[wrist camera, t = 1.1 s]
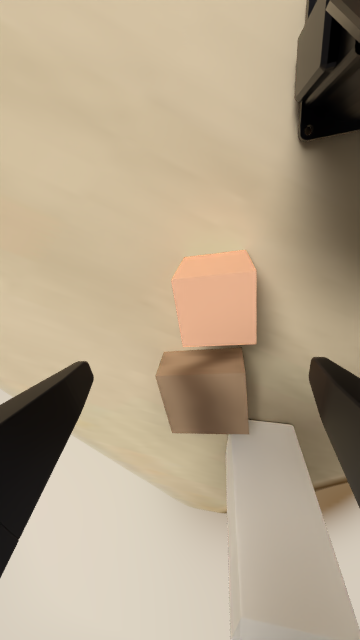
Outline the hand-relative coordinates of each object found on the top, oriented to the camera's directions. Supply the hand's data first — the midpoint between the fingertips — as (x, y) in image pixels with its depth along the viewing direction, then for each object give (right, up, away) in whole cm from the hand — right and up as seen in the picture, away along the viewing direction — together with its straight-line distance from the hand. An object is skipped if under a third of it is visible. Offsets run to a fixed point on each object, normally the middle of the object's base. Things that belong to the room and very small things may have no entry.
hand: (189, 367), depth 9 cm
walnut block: (+3, -5, +16) cm, 17 cm away
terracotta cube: (+3, +5, +11) cm, 12 cm away
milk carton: (+9, -13, +19) cm, 25 cm away
